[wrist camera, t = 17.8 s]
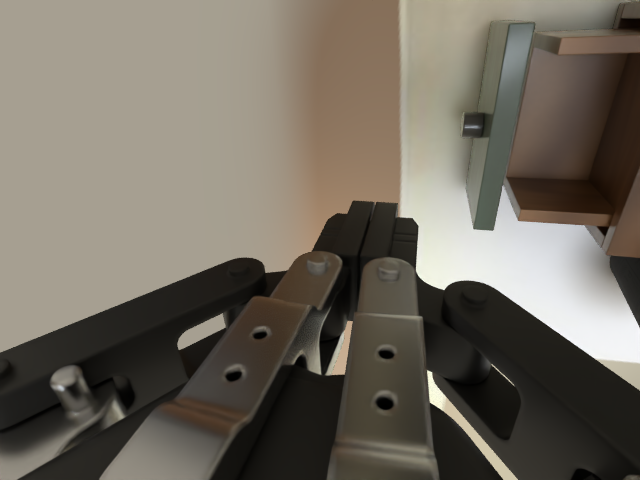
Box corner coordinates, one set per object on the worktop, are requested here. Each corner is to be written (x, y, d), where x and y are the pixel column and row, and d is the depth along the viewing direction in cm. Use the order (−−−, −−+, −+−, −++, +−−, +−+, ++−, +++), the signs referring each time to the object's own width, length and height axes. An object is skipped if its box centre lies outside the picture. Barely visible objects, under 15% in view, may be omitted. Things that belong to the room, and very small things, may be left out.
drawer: (449, 187, 30) (453, 228, 25) (470, 22, 25) (482, 24, 19) (588, 194, 28) (628, 240, 22) (648, 13, 22) (721, 13, 17)
